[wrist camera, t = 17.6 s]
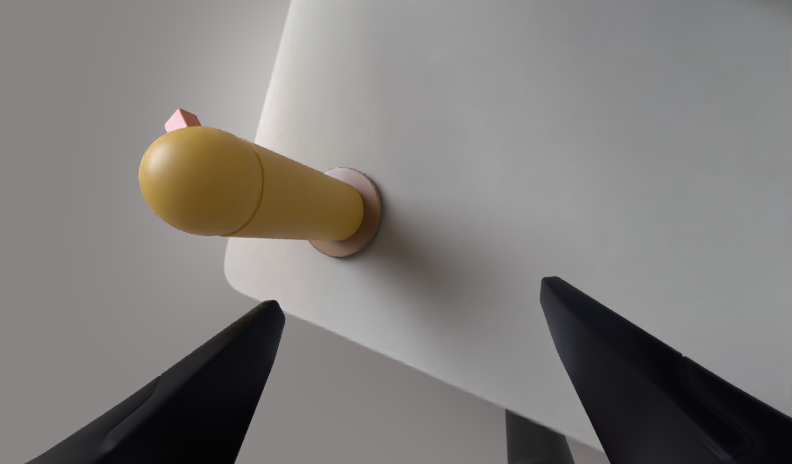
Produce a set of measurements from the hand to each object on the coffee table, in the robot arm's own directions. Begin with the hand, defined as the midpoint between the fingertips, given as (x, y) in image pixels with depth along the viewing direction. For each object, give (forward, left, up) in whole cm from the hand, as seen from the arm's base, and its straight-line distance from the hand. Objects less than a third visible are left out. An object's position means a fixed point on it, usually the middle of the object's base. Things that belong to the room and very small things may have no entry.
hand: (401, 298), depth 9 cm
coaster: (+3, +9, -10) cm, 14 cm away
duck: (+3, +9, -10) cm, 14 cm away
